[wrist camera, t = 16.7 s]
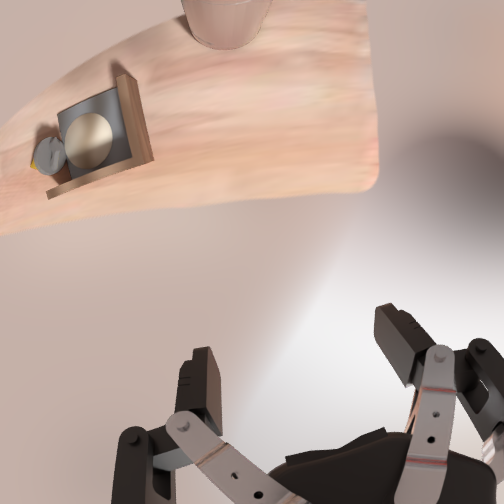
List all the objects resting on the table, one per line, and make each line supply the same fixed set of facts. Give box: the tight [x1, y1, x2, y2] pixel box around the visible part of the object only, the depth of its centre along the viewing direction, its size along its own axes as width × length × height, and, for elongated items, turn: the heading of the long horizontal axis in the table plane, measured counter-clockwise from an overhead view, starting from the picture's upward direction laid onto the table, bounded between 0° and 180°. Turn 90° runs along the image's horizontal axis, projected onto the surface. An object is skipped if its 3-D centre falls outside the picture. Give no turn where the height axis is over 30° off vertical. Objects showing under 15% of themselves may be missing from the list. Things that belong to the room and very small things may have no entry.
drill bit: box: [30, 137, 66, 175], centre depth 31 cm, size 5×5×10 cm
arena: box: [46, 74, 154, 200], centre depth 30 cm, size 15×12×5 cm
